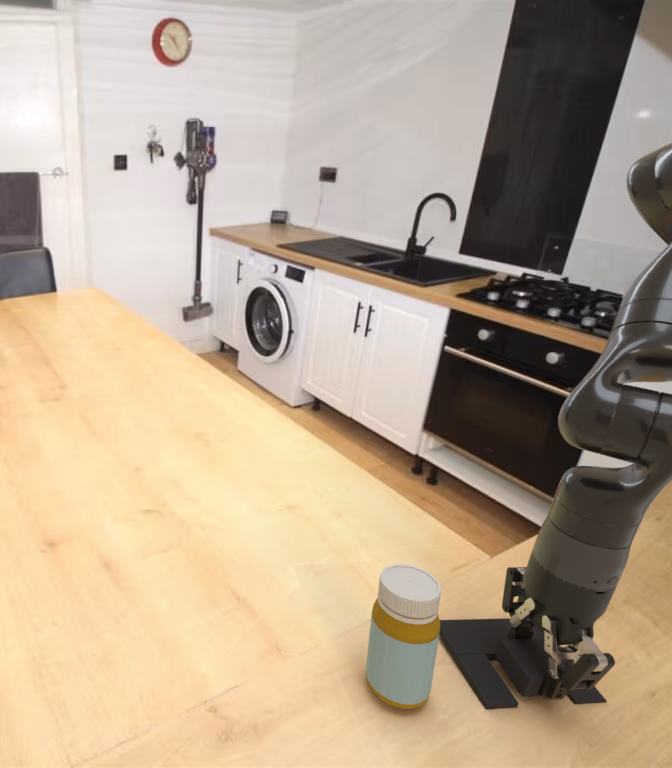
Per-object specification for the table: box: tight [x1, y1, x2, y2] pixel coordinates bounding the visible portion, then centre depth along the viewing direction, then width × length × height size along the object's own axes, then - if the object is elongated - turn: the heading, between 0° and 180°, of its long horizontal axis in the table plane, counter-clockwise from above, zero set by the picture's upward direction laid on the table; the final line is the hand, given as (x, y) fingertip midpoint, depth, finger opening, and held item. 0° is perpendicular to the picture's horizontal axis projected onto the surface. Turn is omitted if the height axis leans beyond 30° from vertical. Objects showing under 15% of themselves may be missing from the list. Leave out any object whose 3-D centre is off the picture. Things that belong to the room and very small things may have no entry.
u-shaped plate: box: [439, 617, 608, 710], centre depth 67 cm, size 14×12×1 cm
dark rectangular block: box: [494, 638, 570, 698], centre depth 64 cm, size 5×5×3 cm
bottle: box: [365, 563, 442, 710], centre depth 62 cm, size 7×7×15 cm
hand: (531, 672), depth 64 cm, fingers closed on dark rectangular block, 5 cm apart
